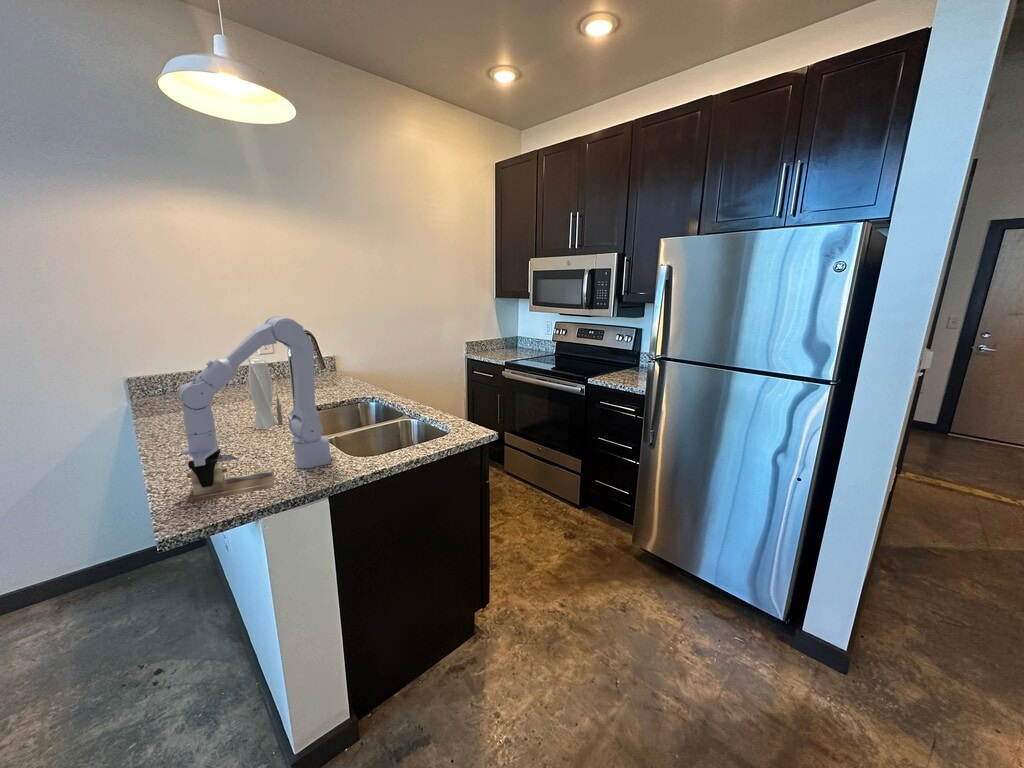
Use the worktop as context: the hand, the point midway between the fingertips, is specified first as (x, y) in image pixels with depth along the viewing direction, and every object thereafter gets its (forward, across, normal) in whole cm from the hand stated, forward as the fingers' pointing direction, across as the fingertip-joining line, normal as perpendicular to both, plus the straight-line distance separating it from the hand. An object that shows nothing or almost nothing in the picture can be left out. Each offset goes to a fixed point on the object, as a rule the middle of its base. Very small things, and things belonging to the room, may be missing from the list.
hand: (209, 482), depth 103 cm
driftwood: (+4, -23, +1) cm, 23 cm away
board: (+3, 0, +5) cm, 6 cm away
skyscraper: (+4, -55, +11) cm, 56 cm away
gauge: (+2, 0, 0) cm, 2 cm away
